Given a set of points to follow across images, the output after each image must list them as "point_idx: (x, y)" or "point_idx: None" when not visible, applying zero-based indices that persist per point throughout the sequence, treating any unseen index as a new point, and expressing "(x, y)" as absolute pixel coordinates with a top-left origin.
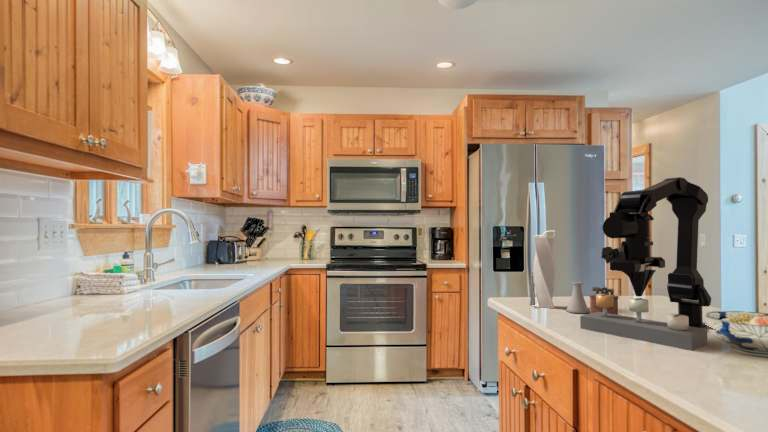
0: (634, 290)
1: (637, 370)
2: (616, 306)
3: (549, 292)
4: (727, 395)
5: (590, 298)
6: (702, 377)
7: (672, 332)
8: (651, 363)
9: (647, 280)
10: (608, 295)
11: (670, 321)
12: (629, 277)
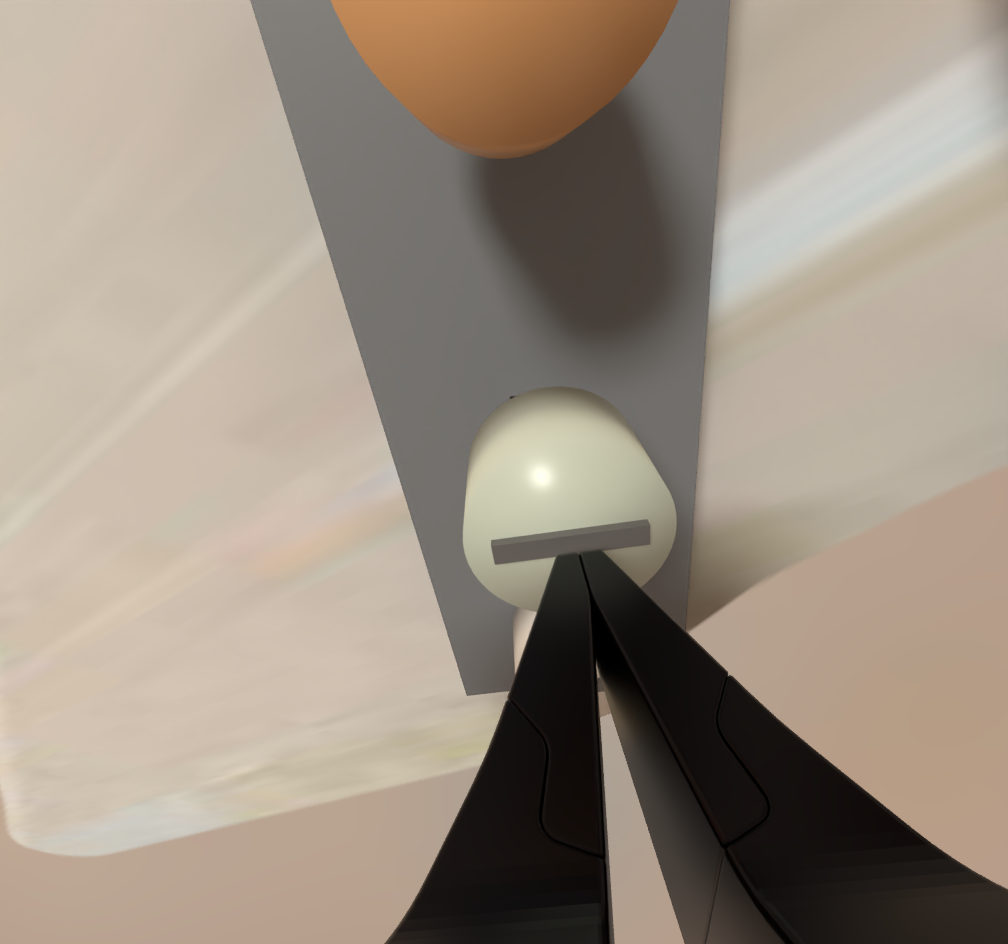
0: (537, 610)
1: (31, 672)
2: None
3: None
4: (156, 806)
5: None
6: (209, 752)
7: (450, 639)
8: (148, 654)
9: (673, 902)
10: (529, 19)
11: (514, 647)
12: (435, 875)
